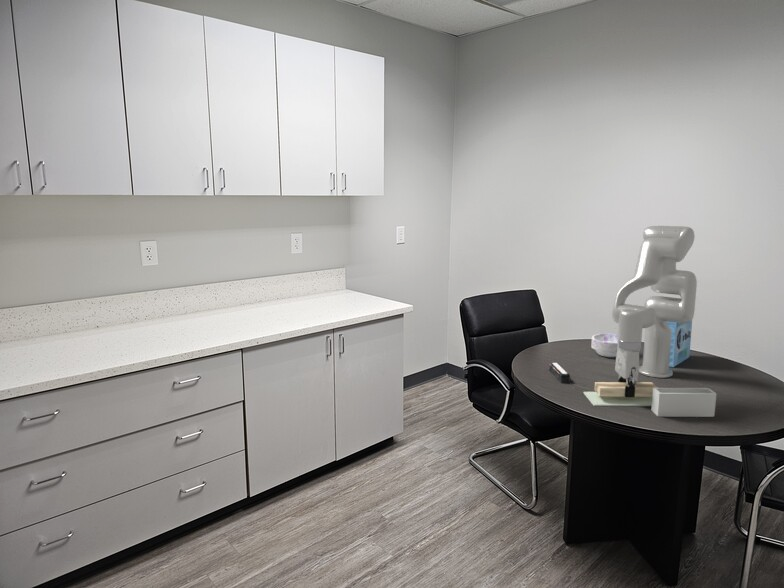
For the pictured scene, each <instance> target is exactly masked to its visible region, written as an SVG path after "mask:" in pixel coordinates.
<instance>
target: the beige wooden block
mask: <svg viewBox="0 0 784 588" xmlns="http://www.w3.org/2000/svg"><path fill="white" fill-rule="evenodd" d="M625 386H627V385H626V382H618V381H616V382H615V381H613V382H612V381H609V382H607V381H597V382H596V381H595V382H594V392H597V393H598V395H599V396H625ZM653 388H659V387H658V386H657V385H655V383H653V382H651V381H648V382H647V381H640V382H639V381H638V382H637V383H636V387H635V396H652V394H653Z"/></svg>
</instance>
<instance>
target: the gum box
mask: <svg viewBox="0 0 784 588" xmlns="http://www.w3.org/2000/svg"><path fill="white" fill-rule="evenodd" d="M666 322H667V324H668V325H669V327H670V329H671V332H672V335H671V348H670V360H669V368H675V367H676V366H678V365H679V364H681V363H683V362H684V361H685V360H687V359H689V358H690V356H691V355H690V353H691V342H692V340H691V339H692V327H693V320H692V321H691V322H689V323H676V322H669V321H666Z"/></svg>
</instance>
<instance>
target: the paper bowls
mask: <svg viewBox="0 0 784 588" xmlns="http://www.w3.org/2000/svg"><path fill="white" fill-rule="evenodd" d="M590 343H591V344H590V345H591V346H590V347H591V349H593V350H595V352H596V354H597V355H599V356H601V357H606V358H616V355H617V350H618V348H617V346H618V334H615V333H596V334H593V335H592V336H591V342H590Z"/></svg>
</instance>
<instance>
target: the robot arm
mask: <svg viewBox="0 0 784 588" xmlns="http://www.w3.org/2000/svg"><path fill="white" fill-rule="evenodd" d="M642 236H643V238H642V239H643V241H642V242H641V245H640V249H639V253H638V256H637V261H636V265H635V270H634V275H633V277H632V278H630V279H628V281H626V282H625V283H624V284H623V285H622V287H621V288H619V290H618V292H617V293H616V295H615V299H614V303H613V308H612V314H611V315H612V319H613V322H615V323H616V324H618V333H617V335H618V346H617V348H618V350H617V355H616V357H615V364H614V370H615V372H616V373H617V374H618V376H617V378H618V379H617V382H626V385H627V386H625V397H635V387H636V383H637V382H639V380H638V378H639V374H642V375H644V376H647V377H652V378H658V379H659V378H661V379H663V378H670V377H672V376H673V373H674V372H673V370H672V369H670V367H669V360H670V348H671V335H672V332H671V329H670V327H669V325H668V324H667V322H666V321H669V322H676V323H689V322H691V321H692V322H693V319H694V316H695V309H696V308H695V307H696V299H697V297H696V295H697V283H698V281H697V276H696V274H695V273H694V272H692V271H688V270H681V269H680V270H679V269H677V263H680V262H682V261H683V260H684V259H685V257H686V256H687V254H688V253H689V251H690V250H691V248H692V247H693V244H694V241H695V237H696V236H695V231H694V230H693V228H691V227H689V226H683V225H682V226H679V225H677V226H676V225H651V226H647V227H645V228H644V229H643V233H642ZM647 287H650V289H651V290H652V292H655V293H658V294H667V295H675V296H680V298H679V297H670V296H664V295H663V296H662V295H654V296H650V297H648V298H647V299H646V300H645V302H644V303H643V304H644V305H643V306H642V305H637V304H629V303H625V302H626V300H627V298H628V297H629V296H630V295H631V294H633V293H634V292H636V291H639V290H640V289H641V290H642V289H644V288H647ZM643 329H644V343H643V353H642V354H643V356H642V365H641V366H640V351H642V338H643Z"/></svg>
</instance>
